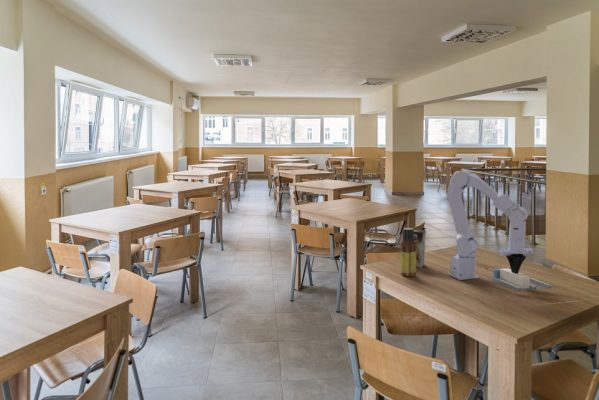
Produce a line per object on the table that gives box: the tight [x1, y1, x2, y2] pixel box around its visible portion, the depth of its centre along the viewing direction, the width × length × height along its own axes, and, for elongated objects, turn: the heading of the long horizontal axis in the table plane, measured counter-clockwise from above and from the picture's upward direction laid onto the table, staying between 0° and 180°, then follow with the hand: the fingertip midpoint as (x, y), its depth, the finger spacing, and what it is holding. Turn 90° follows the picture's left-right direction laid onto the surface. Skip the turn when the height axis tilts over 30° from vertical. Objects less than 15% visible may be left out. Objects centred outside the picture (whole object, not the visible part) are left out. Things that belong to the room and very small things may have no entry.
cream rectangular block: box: [499, 267, 531, 289], centre depth 177 cm, size 4×12×4 cm, turn 15°
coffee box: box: [402, 228, 427, 268], centre depth 205 cm, size 9×6×16 cm
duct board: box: [488, 267, 557, 292], centre depth 178 cm, size 18×16×4 cm
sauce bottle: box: [400, 227, 417, 277], centre depth 189 cm, size 7×6×20 cm
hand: (514, 273), depth 176 cm, fingers closed, pressing on cream rectangular block
